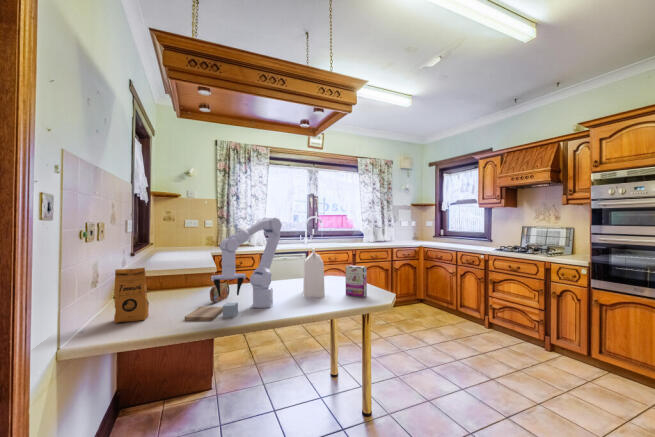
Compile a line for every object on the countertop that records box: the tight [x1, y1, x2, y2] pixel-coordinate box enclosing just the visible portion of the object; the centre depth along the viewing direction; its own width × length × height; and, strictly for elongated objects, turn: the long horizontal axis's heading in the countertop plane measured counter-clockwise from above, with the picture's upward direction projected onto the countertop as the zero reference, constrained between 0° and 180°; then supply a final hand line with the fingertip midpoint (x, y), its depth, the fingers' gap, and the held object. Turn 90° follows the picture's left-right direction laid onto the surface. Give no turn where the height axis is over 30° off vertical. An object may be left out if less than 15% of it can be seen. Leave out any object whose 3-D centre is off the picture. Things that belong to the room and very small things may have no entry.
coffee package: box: [113, 267, 150, 323], centre depth 122 cm, size 10×12×22 cm
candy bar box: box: [345, 264, 368, 298], centre depth 161 cm, size 11×5×16 cm, turn 61°
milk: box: [302, 247, 326, 298], centre depth 164 cm, size 12×12×26 cm
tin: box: [209, 282, 230, 303], centre depth 152 cm, size 15×3×8 cm, turn 168°
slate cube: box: [222, 302, 239, 318], centre depth 128 cm, size 5×5×5 cm
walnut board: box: [184, 306, 223, 322], centre depth 128 cm, size 12×14×2 cm
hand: (228, 295), depth 129 cm, fingers open, 7 cm apart
